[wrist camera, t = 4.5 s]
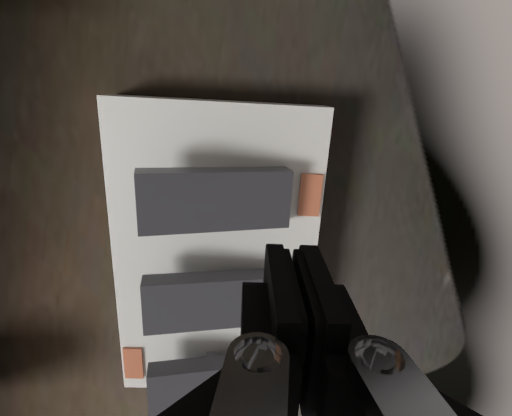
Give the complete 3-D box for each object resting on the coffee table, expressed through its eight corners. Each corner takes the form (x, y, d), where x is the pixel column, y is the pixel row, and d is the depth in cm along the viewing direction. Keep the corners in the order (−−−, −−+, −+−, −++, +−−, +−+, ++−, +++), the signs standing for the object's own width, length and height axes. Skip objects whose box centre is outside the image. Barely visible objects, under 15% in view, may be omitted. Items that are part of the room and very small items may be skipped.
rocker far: (148, 362, 24) (146, 378, 23) (272, 349, 26) (277, 363, 25) (150, 401, 25) (149, 418, 24) (269, 386, 27) (273, 401, 26)
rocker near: (135, 167, 19) (133, 173, 18) (285, 166, 22) (294, 171, 20) (139, 227, 21) (138, 236, 19) (281, 219, 23) (288, 227, 22)
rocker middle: (142, 274, 22) (139, 286, 21) (279, 267, 24) (284, 277, 22) (145, 321, 23) (143, 336, 22) (275, 311, 25) (280, 323, 24)
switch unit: (115, 94, 23) (91, 95, 19) (323, 105, 23) (337, 108, 20) (135, 359, 30) (121, 394, 27) (295, 362, 31) (301, 398, 27)
